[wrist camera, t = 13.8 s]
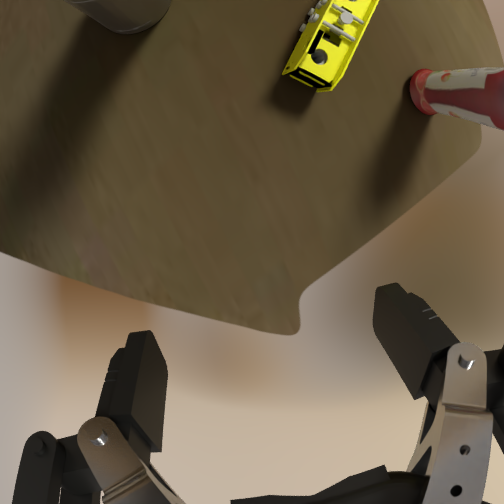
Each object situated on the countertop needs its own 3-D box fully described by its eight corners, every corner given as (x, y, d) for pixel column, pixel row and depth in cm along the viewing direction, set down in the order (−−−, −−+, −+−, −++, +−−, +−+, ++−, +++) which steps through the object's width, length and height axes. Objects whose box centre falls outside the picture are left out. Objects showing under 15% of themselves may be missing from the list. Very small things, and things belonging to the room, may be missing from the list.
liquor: (410, 120, 37) (583, 171, 12) (397, 71, 33) (578, 79, 8) (445, 110, 36) (605, 155, 11) (434, 65, 33) (599, 78, 8)
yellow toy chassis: (325, -20, 27) (349, -42, 20) (362, 2, 29) (393, -15, 21) (276, 73, 33) (293, 64, 25) (317, 93, 34) (343, 91, 27)
